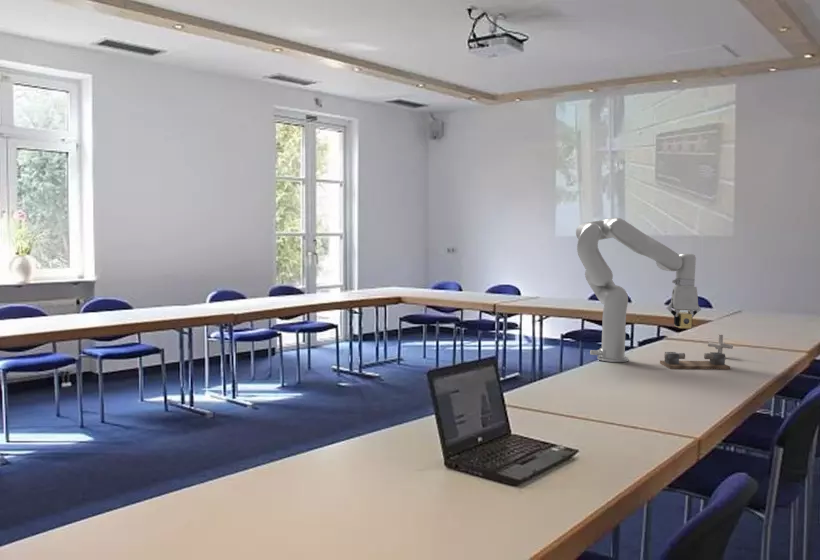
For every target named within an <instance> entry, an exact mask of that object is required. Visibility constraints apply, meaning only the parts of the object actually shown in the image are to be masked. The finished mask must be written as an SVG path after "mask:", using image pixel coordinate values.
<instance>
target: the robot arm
mask: <svg viewBox="0 0 820 560" xmlns="http://www.w3.org/2000/svg"><path fill="white" fill-rule="evenodd" d="M575 236H576V238H577V245H576V250H577V251H576V252H577V255H578V258H579V260H580V262H581V263H582V265H583V267H584V269H585V271H584V275H585V280H586V282H587V283H588V285H589V286H590V288H591V290H592V292H593V293H594V295H595V296H596V298H597V300H598V301H599V302H600V303H601V304H602V305H603V310H602V319H601V320H602V325H601V327H602V329H601V331H602V332H601V347H600V348H599V349H597V350H595V349H592V350H591V349H590V351H589V354H590V355H591V356H592V355H593V356H597V360H599V361H603V362H611V363H624V362H625V363H626V362H628V361H629V357H628V356H625V353H626V351H625V350H626V328H627V327H626V326H627V325H626V321H627V310H628V304H629V296H628V292H627V291H626V289H625V288H624V287H622V286H620V285H616V284H615V282H614V281H613V277H614V275H613V272H612V270H611V268H610V267H609V265H608V263H607V262H606V260H605V259H604V257H603V255H602V254H601V252H600V250H599V241H602V240H606V239H607V240H609V239H615V240H616V241H618V242H619V243H621V244H623V245H624V246H625V247H626V248H628V249H630V250H631V251H633V252H634V253H636V254H639V255H640V256H645V257H647V258H649V259H651V260H653V261H655V264H656V266H657V268H659V270H662V271H667V272H675V279H672V284H674V286H673V288H672V292H671V299H670V302H669V304H668V305H667V307H666V310H667V311H668V312H670V314H672V316H673V325H675V326H674V327H676V326H679V317H678V315H679V312H681V311H687V313H690V314H692V319H693V317H695V315H696V314H697V313H699V312H700V311H702V308H701V307H700V305H699V300H698V299H699V297H698V287H697V286H695V281H696V280H695V279H696V262H697V258H696V255H695V254H693V253H677V252H676V251H674V250H672V248H669V246H666V245H665V244H663V243H661V242H659V241H658V240H656V239H654V238H653V237H651V236H649V235H647V234H646V233H644V232H643V231H642V230H639V229H638V228H636V227H635V226H634V225H633V224H630V223H629V222H628V221H627V220H625V219H623V218H621V217H609V218H605V219H600V220H594V221H593V220H592V221H588V222H582V223H580V224H579V225H578V226H577V227H576V230H575Z"/></svg>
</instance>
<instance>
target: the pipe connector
mask: <svg viewBox="0 0 820 560" xmlns="http://www.w3.org/2000/svg"><path fill="white" fill-rule="evenodd" d="M717 336H718V337H717V338H718V340H717V342H710V341H709V342H708V343H707V346H708V347H709V348H715V350H717V352H720V353H723V349H728V350H729V349H731V350H733V348H734V345H733V344H731V343H730V344H728V343H725V342H724V334H721V333H719V334H718V335H717Z"/></svg>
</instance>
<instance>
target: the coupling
mask: <svg viewBox="0 0 820 560" xmlns="http://www.w3.org/2000/svg"><path fill="white" fill-rule="evenodd" d="M678 317H679V326H675V324H673V325H674V327H676V328H678V329H692V325H693V318H692V314H690V313H688V312H685V311H683V312H682V311H680V312H679V315H678Z"/></svg>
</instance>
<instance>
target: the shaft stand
mask: <svg viewBox="0 0 820 560" xmlns="http://www.w3.org/2000/svg"><path fill="white" fill-rule="evenodd" d="M663 356H664V357H663V358H664V360H659V364H661V365H662V366H664V367H666V368H668V369H670V370H731V366H730V365H728V364H726V354H725V353H723V352H722V353H720V352H718V351H716V352H715V351H714V352H711V351H710V352H709V353H708V352H707V353H706V352H705V353H704V354H703V358H704V360H686V354H685V352H676V351H664V355H663Z"/></svg>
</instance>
